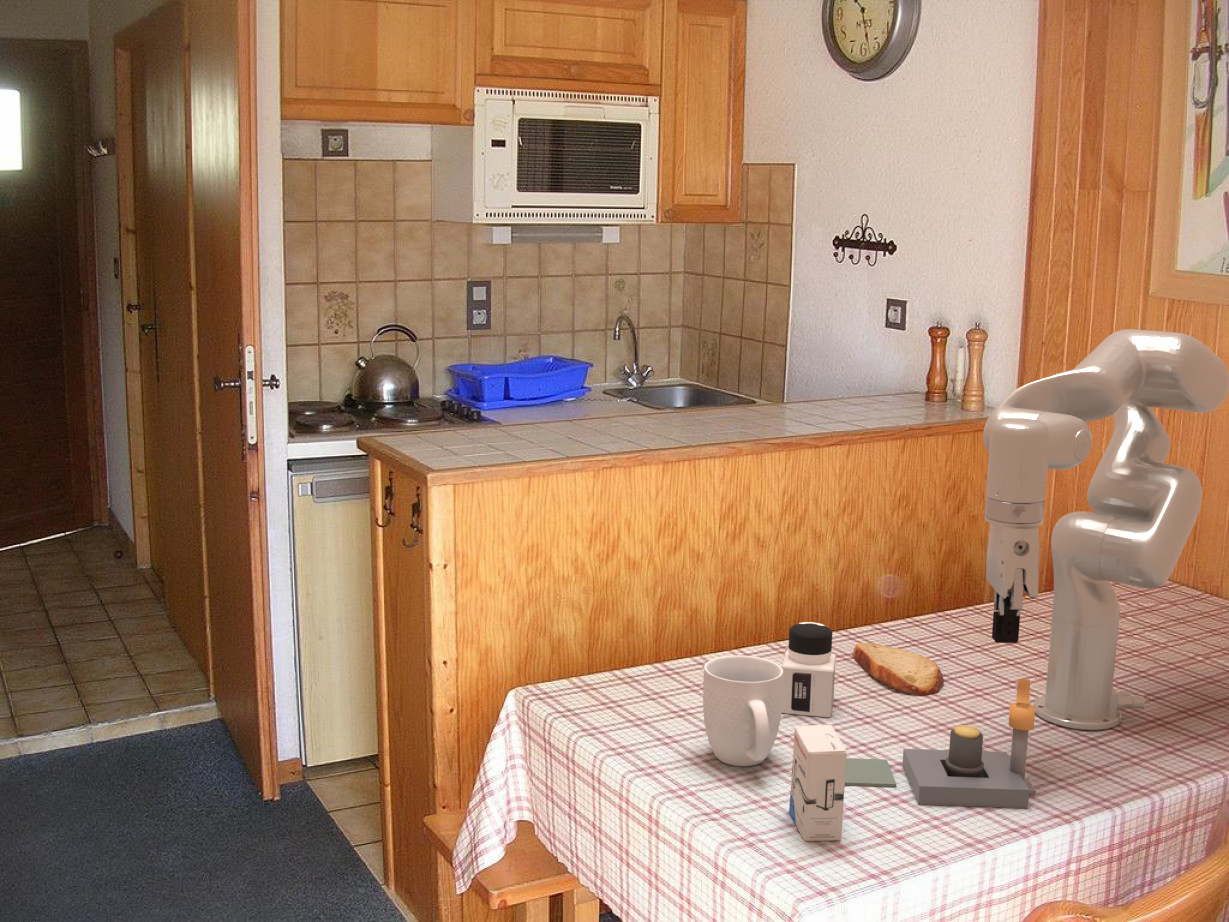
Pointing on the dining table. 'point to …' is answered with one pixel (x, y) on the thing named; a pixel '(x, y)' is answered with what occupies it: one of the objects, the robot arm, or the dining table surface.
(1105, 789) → the dining table surface
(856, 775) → the pad
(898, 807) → the dining table surface
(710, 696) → the mug
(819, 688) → the container
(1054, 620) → the robot arm
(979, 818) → the dining table surface
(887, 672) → the bread slice
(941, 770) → the socket
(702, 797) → the dining table surface
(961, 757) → the plug
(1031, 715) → the clip
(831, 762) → the ink box
